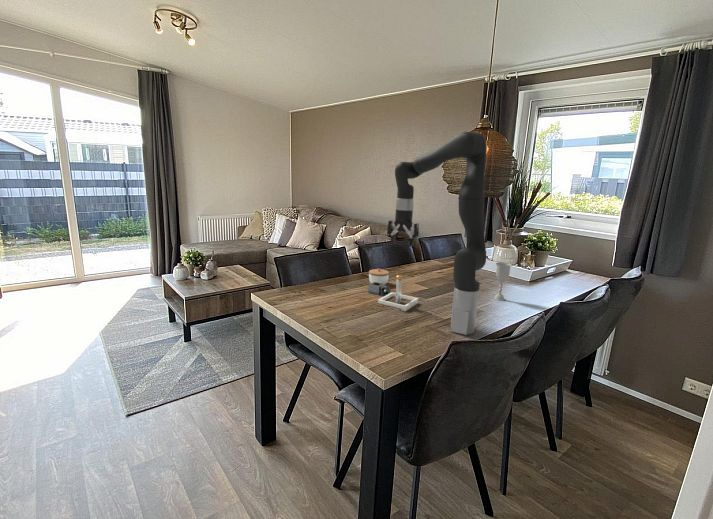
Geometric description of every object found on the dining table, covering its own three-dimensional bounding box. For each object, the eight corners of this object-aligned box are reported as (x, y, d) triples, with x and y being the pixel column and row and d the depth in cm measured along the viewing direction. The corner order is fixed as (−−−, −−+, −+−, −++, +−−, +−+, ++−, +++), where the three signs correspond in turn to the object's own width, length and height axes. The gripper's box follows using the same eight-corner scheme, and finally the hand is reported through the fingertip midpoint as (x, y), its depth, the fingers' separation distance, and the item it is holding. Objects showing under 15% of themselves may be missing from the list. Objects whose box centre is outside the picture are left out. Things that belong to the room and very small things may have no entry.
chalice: (506, 297, 191) (511, 263, 187) (507, 302, 185) (512, 266, 181) (491, 296, 193) (495, 261, 189) (491, 300, 187) (496, 265, 183)
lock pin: (399, 304, 174) (401, 277, 171) (393, 303, 176) (394, 276, 173) (402, 302, 177) (404, 275, 174) (396, 301, 179) (398, 274, 175)
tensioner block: (386, 299, 182) (386, 289, 181) (364, 294, 188) (365, 284, 187) (394, 294, 190) (395, 285, 189) (373, 289, 196) (374, 280, 195)
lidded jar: (366, 287, 200) (367, 270, 198) (370, 281, 210) (371, 265, 208) (386, 289, 198) (387, 272, 196) (389, 283, 208) (390, 267, 206)
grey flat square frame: (405, 311, 167) (405, 306, 167) (377, 305, 174) (377, 299, 174) (417, 303, 179) (418, 298, 178) (391, 297, 186) (391, 292, 185)
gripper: (386, 208, 167) (384, 244, 170) (416, 210, 159) (413, 248, 163) (393, 206, 173) (391, 241, 177) (422, 209, 166) (420, 245, 169)
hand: (401, 245), depth 170 cm, fingers open, 8 cm apart
